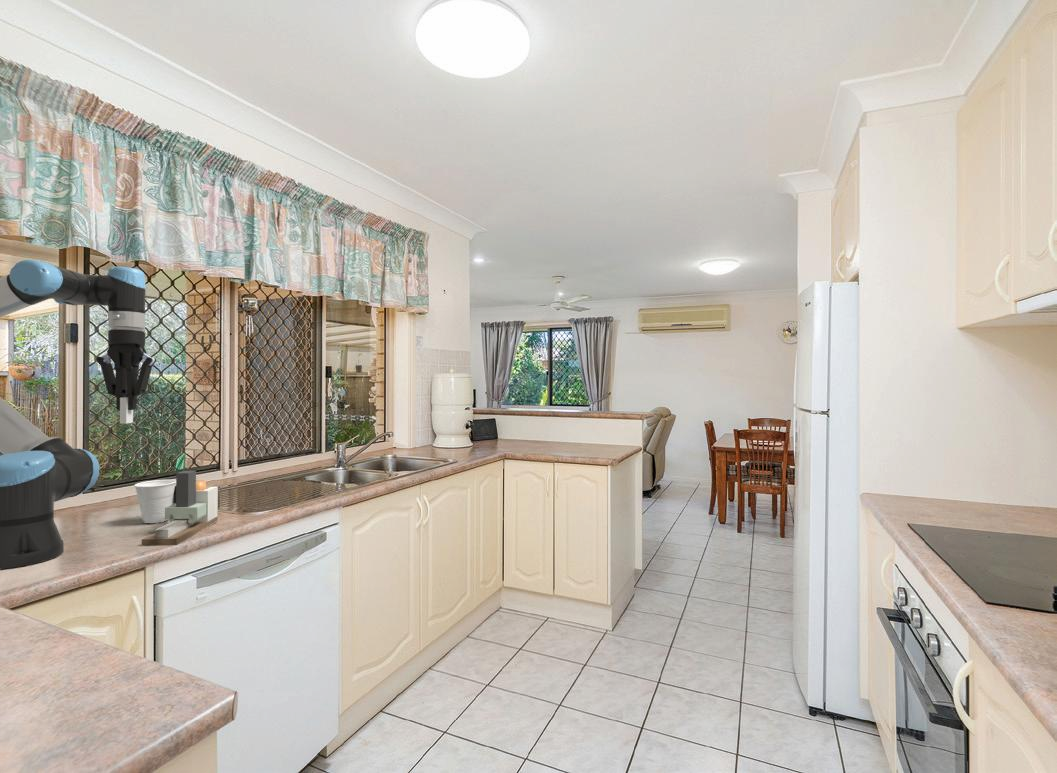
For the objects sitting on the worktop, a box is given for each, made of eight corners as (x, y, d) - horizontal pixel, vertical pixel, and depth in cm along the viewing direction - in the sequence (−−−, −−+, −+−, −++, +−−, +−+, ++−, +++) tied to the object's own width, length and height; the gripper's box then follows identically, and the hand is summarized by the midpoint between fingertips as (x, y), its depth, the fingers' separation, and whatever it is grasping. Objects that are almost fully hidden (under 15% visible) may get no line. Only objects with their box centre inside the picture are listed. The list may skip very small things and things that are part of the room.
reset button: (186, 501, 147) (186, 483, 147) (193, 498, 151) (193, 480, 151) (201, 501, 148) (201, 483, 148) (208, 498, 152) (208, 480, 152)
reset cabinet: (176, 522, 146) (176, 491, 146) (187, 516, 152) (187, 487, 152) (207, 521, 147) (207, 490, 147) (217, 516, 153) (217, 486, 153)
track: (141, 545, 130) (141, 531, 130) (187, 522, 152) (187, 509, 152) (176, 544, 131) (176, 530, 131) (217, 521, 153) (217, 509, 153)
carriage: (164, 523, 140) (165, 473, 140) (174, 519, 145) (175, 470, 145) (197, 523, 141) (197, 473, 141) (206, 518, 146) (206, 470, 146)
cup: (141, 528, 145) (140, 488, 145) (130, 522, 152) (129, 483, 151) (182, 520, 153) (181, 482, 153) (170, 514, 159) (169, 478, 159)
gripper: (88, 327, 130) (87, 424, 131) (146, 328, 132) (145, 424, 132) (108, 330, 138) (108, 422, 138) (163, 331, 140) (162, 422, 140)
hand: (126, 423), depth 135 cm, fingers closed
